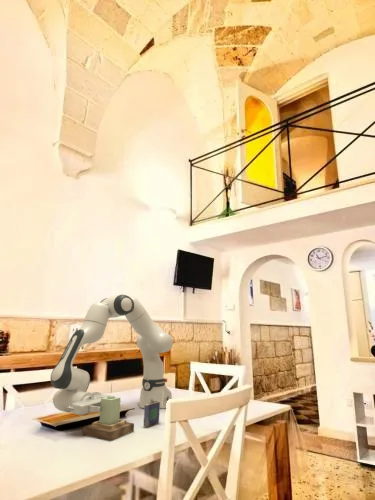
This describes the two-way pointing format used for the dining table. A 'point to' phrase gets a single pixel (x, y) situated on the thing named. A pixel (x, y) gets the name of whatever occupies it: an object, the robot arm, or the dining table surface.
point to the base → (108, 430)
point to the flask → (151, 413)
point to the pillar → (110, 410)
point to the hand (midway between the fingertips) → (108, 407)
